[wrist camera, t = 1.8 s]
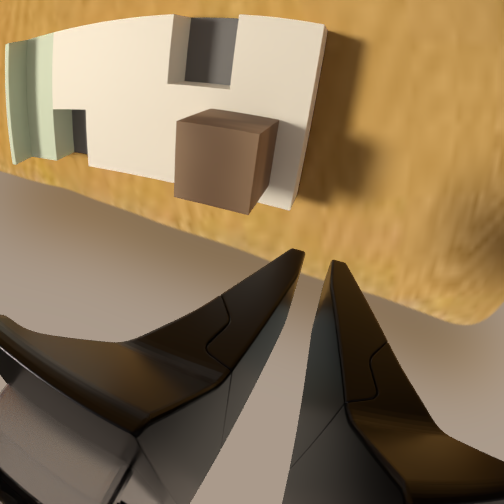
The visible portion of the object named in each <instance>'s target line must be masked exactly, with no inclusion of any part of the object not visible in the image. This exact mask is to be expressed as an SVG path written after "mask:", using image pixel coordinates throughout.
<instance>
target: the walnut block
mask: <svg viewBox="0 0 504 504" xmlns="http://www.w3.org/2000/svg"><path fill="white" fill-rule="evenodd" d="M278 126H279V120H278V119H273V118H268V117H262V116H257V115H251V114H245V113H239V112H232V111H226V110H219V109H208V110H205V111H202V112H199V113H197V114H194V115H191V116H188V117H186V118H183V119H180V120H178V121H176V143H175V176H174V197H177V198H181V199H185V200H189V201H193V202H198V203H202V204H206V205H210V206H214V207H218V208H222V209H226V210H230V211H234V212H238V213H242V214H246V215H249V213H250V212H251V210H252V209H253V208H254V206H255V205H256V203H257V202H258V200H259V199H260V197H261V196H262V195H263V193H264V192H265V190H266V189H267V187H268V186H269V181H270V175H271V169H272V163H273V157H274V150H275V144H276V138H277V132H278Z"/></svg>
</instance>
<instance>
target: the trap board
mask: <svg viewBox="0 0 504 504" xmlns="http://www.w3.org/2000/svg"><path fill="white" fill-rule="evenodd" d="M327 32H328V30H327V28H326V27H325V25H324V24H318V23H312V22H306V21H300V20H293V19H285V18H277V17H267V16H255V15H240V14H239V19H234V18H190V17H185V16H180V15H175V14H171V15H156V16H145V17H135V18H127V19H119V20H112V21H106V22H100V23H94V24H89V25H84V26H79V27H75V28H70V29H66V30H62V31H58V32H54V33H50V34H46V35H43V36H39V37H36V38H32V39H29V40H25V41H19V42H13V43H8V44H6V49H5V89H6V108H7V121H8V131H9V140H10V148H11V155H12V162H13V164H18V163H20V162H22V161H24V160H26V159H28V158H30V157H38V158H45V159H51V160H59V159H61V158H63V157H65V156H67V155H69V154H71V153H73V152H78V153H84V154H88V162H89V166H92V167H97V168H102V169H108V170H113V171H118V172H123V173H128V174H134V175H139V176H143V177H148V178H153V179H158V180H163V181H167V182H172V183H174V176H175V143H176V121H178V120H180V119H183V118H186V117H188V116H191V115H194V114H197V113H199V112H202V111H205V110H208V109H219V110H226V111H232V112H239V113H245V114H251V115H257V116H262V117H268V118H273V119H278V120H279V126H278V132H277V138H276V144H275V150H274V157H273V163H272V169H271V175H270V181H269V186H268V187H267V189H266V190H265V192H264V193H263V195H262V196H261V197H260V199H259V200H258V203H262V204H266V205H270V206H274V207H278V208H282V209H286V210H289V211H290V209H291V207H292V205H293V202H294V200H295V198H296V196H297V192H298V187H299V182H300V178H301V173H302V168H303V163H304V158H305V153H306V148H307V143H308V138H309V132H310V127H311V122H312V117H313V111H314V106H315V101H316V95H317V90H318V84H319V79H320V73H321V67H322V62H323V56H324V50H325V44H326V38H327Z"/></svg>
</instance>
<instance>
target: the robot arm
mask: <svg viewBox="0 0 504 504" xmlns="http://www.w3.org/2000/svg"><path fill="white" fill-rule="evenodd" d="M304 257H305V252H304V251H301V250H297V249H293V248H292V249H290V250H288V251H287V252H285V253H284V254H282V255H281V256H279V257H278V258H276V259H275V260H273V261H272V262H270V263H269V264H267V265H266V266H264V267H263V268H261V269H260V270H258V271H257V272H255V273H254V274H252V275H250V276H249V277H247V278H246V279H244V280H243V281H241V282H240V283H238V284H237V285H235V286H233V287H232V288H231V289H229V290H227V291H226V292H224V293H223V294H221V296H218V297H216V298H215V299H213V300H212V301H210V302H208V303H207V304H205V305H203V306H202V307H200V308H199V309H197V310H195V311H193V312H191V313H189V314H187V315H185V316H183V317H181V318H179V319H177V320H175V321H173V322H171V323H168V324H166V325H164V326H162V327H160V328H158V329H156V330H153V331H151V332H149V333H147V334H145V335H143V336H140V337H138V338H135V339H132V340H129V341H125V342H117V343H115V342H114V343H113V342H101V341H92V340H83V339H75V338H67V337H59V336H52V335H46V334H41V333H37V332H33V331H31V330H28V329H26V328H23V327H22V326H20V325H18V324H17V323H15V322H14V321H13V320H11V319H10V318H8V317H7V316H4V315H0V375H1V376H2V377H3V379H4V380H5V382H6V383H7V385H6V386H5V387H4V388H3V390H2V391H1V392H0V504H190V502H191V500H192V499H193V497H194V495H195V494H196V492H197V490H198V489H199V487H200V485H201V483H202V482H203V480H204V478H205V476H206V475H207V473H208V471H209V470H210V468H211V466H212V464H213V463H214V461H215V459H216V457H217V455H218V454H219V452H220V449H221V448H222V446H223V445H224V443H225V441H226V438H227V437H228V435H229V434H230V432H231V429H232V428H233V426H234V424H235V422H236V421H237V419H238V417H239V415H240V413H241V411H242V409H243V407H244V405H245V403H246V402H247V400H248V398H249V395H250V394H251V392H252V390H253V388H254V386H255V384H256V382H257V380H258V378H259V376H260V374H261V372H262V370H263V368H264V366H265V364H266V362H267V360H268V358H269V356H270V354H271V352H272V350H273V348H274V346H275V344H276V341H277V339H278V337H279V335H280V333H281V331H282V329H283V326H284V324H285V321H286V319H287V315H288V312H289V309H290V306H291V302H292V299H293V296H294V292H295V289H296V286H297V282H298V279H299V275H300V272H301V268H302V264H303V261H304ZM282 504H504V461H502V460H499V459H497V458H495V457H492V456H490V455H488V454H486V453H484V452H481V451H479V450H477V449H475V448H473V447H471V446H468V445H466V444H464V443H462V442H460V441H458V440H456V439H454V438H452V437H450V436H448V435H447V434H445V433H444V432H443V431H442V430H441V429H440V428H439V427H438V426H437V425H436V424H435V422H434V421H433V419H432V418H431V416H430V414H429V413H428V411H427V409H426V408H425V406H424V404H423V402H422V401H421V399H420V397H419V396H418V395H417V393H416V391H415V389H414V388H413V386H412V384H411V383H410V381H409V379H408V378H407V376H406V374H405V373H404V371H403V369H402V368H401V366H400V364H399V362H398V360H397V358H396V356H395V354H394V353H393V351H392V349H391V347H390V345H389V343H387V339H386V337H385V335H384V333H383V331H382V329H381V327H380V325H379V323H378V321H377V319H376V318H375V316H374V314H373V312H372V310H371V308H370V306H369V304H368V303H367V301H366V299H365V297H364V295H363V293H362V291H361V290H360V288H359V286H358V284H357V282H356V281H355V279H354V277H353V275H352V273H351V272H350V270H349V268H348V266H347V265H346V263H344V262H340V261H337V260H332V261H331V263H330V266H329V269H328V272H327V275H326V278H325V281H324V284H323V288H322V292H321V296H320V300H319V304H318V308H317V312H316V316H315V320H314V324H313V328H312V333H311V340H310V348H309V355H308V362H307V369H306V376H305V383H304V390H303V396H302V403H301V409H300V415H299V421H298V427H297V432H296V438H295V443H294V449H293V454H292V459H291V464H290V470H289V474H288V479H287V484H286V489H285V493H284V498H283V502H282Z"/></svg>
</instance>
